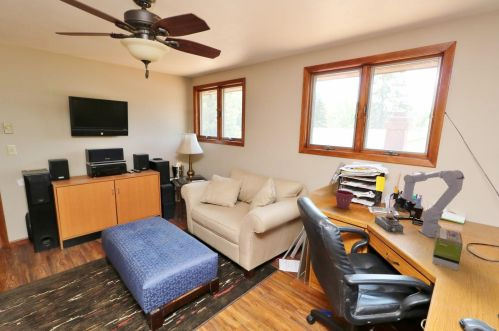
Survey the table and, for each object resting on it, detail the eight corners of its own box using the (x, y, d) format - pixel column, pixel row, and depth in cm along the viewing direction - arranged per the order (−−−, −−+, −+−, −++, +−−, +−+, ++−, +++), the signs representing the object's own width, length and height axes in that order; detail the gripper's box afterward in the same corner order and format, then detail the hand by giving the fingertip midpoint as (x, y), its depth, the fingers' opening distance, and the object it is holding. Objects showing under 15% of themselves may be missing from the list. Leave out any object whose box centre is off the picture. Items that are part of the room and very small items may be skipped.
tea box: (432, 251, 128) (437, 226, 126) (456, 258, 122) (461, 232, 119) (431, 263, 117) (436, 236, 114) (458, 271, 110) (464, 243, 108)
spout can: (394, 221, 158) (395, 211, 156) (389, 221, 157) (391, 211, 155) (389, 218, 162) (390, 209, 160) (384, 219, 160) (386, 209, 159)
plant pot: (353, 206, 196) (355, 192, 194) (350, 211, 185) (352, 196, 182) (336, 203, 204) (337, 189, 202) (332, 207, 192) (333, 192, 190)
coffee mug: (424, 221, 170) (426, 208, 168) (412, 221, 170) (414, 208, 168) (413, 215, 181) (415, 203, 179) (402, 214, 181) (404, 202, 179)
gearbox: (404, 233, 149) (406, 225, 148) (389, 232, 149) (390, 224, 148) (388, 221, 167) (389, 214, 166) (374, 221, 167) (375, 214, 166)
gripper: (421, 194, 154) (418, 213, 157) (407, 188, 168) (404, 206, 171) (411, 194, 154) (407, 213, 157) (397, 188, 168) (394, 206, 171)
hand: (405, 209), depth 164 cm, fingers open, 7 cm apart
